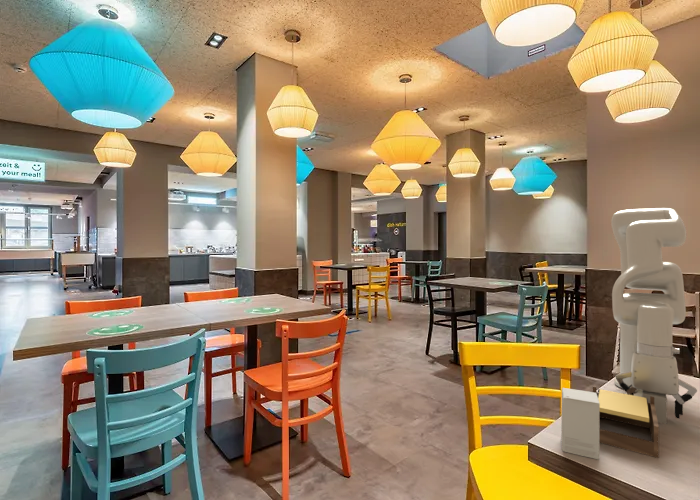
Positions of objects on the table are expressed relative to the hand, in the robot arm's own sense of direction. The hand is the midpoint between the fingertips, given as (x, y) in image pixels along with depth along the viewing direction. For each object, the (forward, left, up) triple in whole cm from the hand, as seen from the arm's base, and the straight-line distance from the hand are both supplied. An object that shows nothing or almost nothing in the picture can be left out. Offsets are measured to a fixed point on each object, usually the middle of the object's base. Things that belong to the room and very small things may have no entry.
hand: (653, 411), depth 102 cm
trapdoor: (+16, -7, +5) cm, 18 cm away
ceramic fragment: (-11, -2, -2) cm, 11 cm away
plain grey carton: (0, 0, -2) cm, 2 cm away
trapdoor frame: (+16, -7, -2) cm, 18 cm away
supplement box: (+30, -15, -2) cm, 34 cm away
